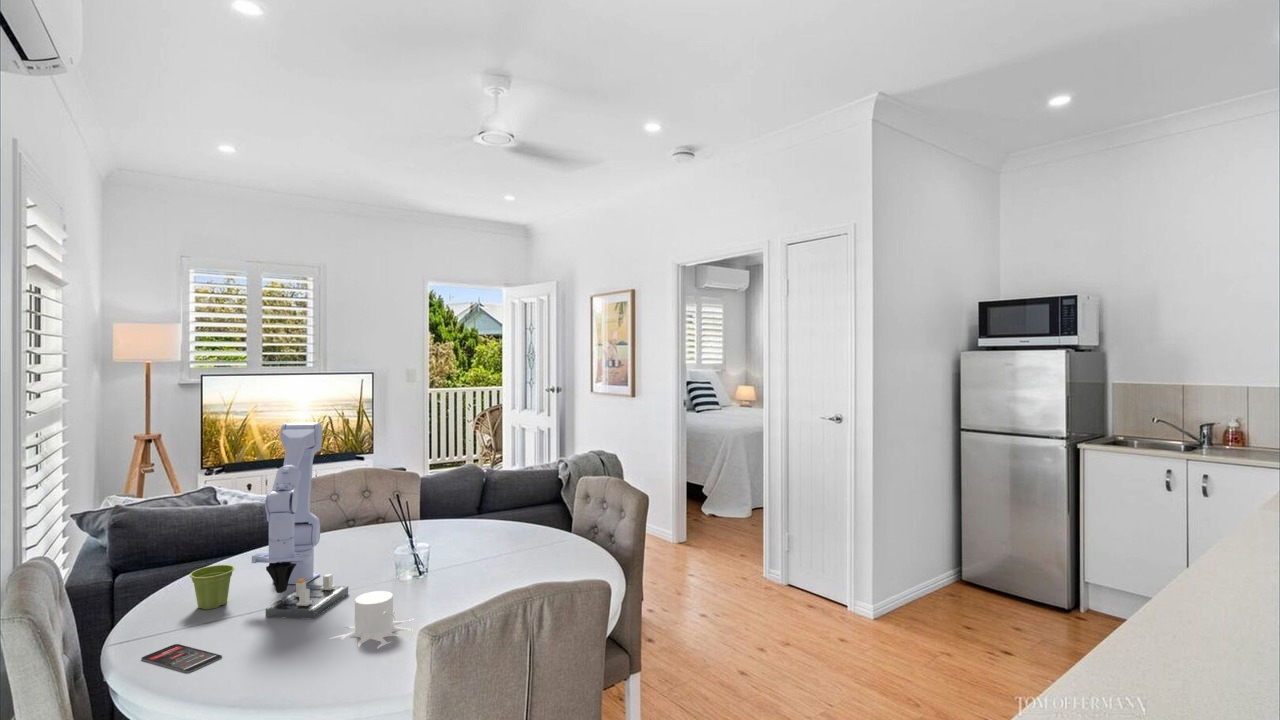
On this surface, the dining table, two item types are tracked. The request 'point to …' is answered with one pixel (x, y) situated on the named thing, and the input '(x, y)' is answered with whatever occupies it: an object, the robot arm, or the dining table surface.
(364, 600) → the tree stump
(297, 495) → the robot arm
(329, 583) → the breaker far
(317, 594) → the panel
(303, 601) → the block
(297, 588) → the breaker mid
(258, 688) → the dining table surface
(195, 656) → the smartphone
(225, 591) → the plant pot
